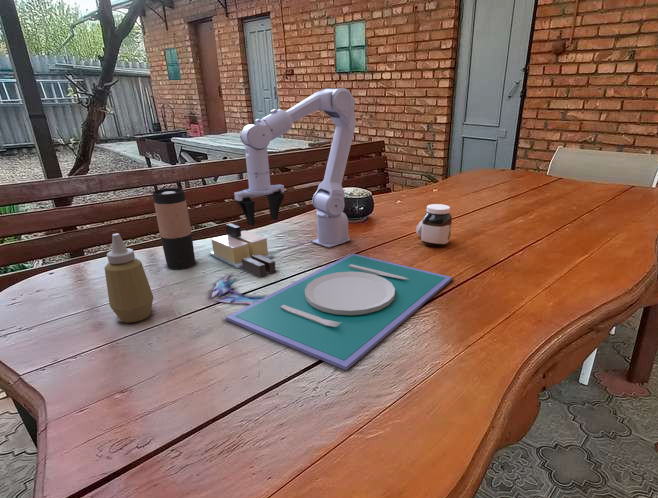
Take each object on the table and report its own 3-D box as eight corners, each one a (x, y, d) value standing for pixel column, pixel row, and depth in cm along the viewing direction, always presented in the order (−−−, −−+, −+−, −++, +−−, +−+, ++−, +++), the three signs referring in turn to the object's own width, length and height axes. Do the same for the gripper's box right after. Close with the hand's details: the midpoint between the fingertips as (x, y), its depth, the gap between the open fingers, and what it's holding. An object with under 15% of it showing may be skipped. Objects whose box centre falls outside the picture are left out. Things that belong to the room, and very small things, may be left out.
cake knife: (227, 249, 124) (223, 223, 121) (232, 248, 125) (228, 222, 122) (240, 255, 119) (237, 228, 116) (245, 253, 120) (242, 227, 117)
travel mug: (159, 267, 113) (144, 192, 105) (180, 257, 120) (168, 186, 112) (182, 271, 111) (168, 195, 103) (202, 261, 117) (191, 189, 109)
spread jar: (441, 250, 125) (444, 212, 120) (406, 244, 130) (408, 207, 126) (455, 239, 134) (459, 203, 130) (422, 233, 140) (425, 199, 135)
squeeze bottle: (113, 329, 84) (90, 243, 76) (114, 312, 90) (92, 231, 83) (158, 320, 87) (139, 237, 80) (155, 304, 94) (138, 225, 86)
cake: (243, 245, 129) (241, 228, 127) (272, 257, 120) (271, 239, 118) (210, 254, 122) (207, 237, 120) (238, 268, 112) (236, 249, 110)
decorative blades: (195, 283, 102) (233, 273, 109) (195, 286, 103) (233, 276, 109) (232, 312, 89) (273, 298, 95) (232, 316, 89) (273, 301, 95)
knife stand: (258, 264, 115) (257, 253, 114) (275, 271, 110) (274, 261, 109) (242, 268, 112) (241, 258, 111) (260, 277, 107) (259, 266, 106)
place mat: (346, 370, 71) (346, 359, 71) (226, 320, 87) (225, 310, 86) (451, 280, 106) (452, 271, 105) (352, 255, 121) (352, 248, 120)
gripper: (243, 178, 105) (248, 230, 110) (289, 170, 115) (292, 219, 120) (227, 174, 109) (234, 225, 115) (273, 167, 119) (277, 214, 125)
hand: (263, 221), depth 118 cm, fingers open, 7 cm apart
